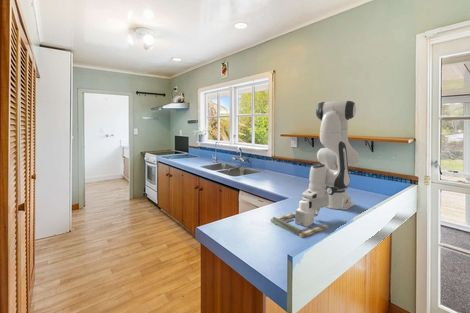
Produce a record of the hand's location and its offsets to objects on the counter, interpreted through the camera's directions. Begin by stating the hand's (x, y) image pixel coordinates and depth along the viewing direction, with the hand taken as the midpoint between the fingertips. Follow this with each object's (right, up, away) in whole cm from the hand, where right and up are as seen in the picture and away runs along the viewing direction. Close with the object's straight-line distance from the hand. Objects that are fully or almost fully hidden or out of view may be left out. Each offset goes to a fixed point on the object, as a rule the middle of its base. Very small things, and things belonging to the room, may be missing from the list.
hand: (314, 216), depth 139 cm
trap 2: (-9, -4, -14) cm, 18 cm away
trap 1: (-17, -2, -3) cm, 18 cm away
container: (-7, -3, -5) cm, 9 cm away
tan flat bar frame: (-12, -3, -8) cm, 14 cm away
